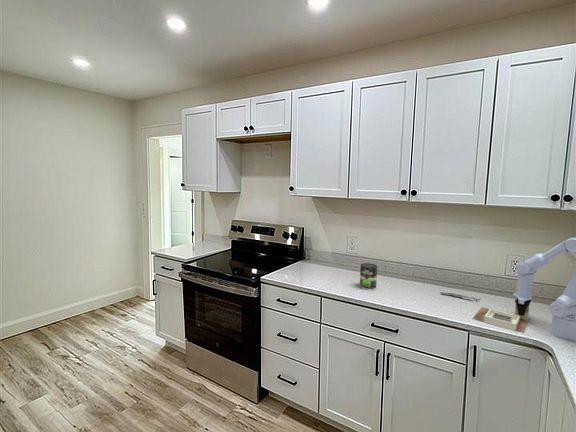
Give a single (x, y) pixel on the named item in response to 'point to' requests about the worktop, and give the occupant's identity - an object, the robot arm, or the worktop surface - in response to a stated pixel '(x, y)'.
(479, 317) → the board
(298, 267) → the worktop surface
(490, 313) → the cream square tray
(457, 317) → the worktop surface
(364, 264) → the coffee can
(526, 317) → the tall bronze block
